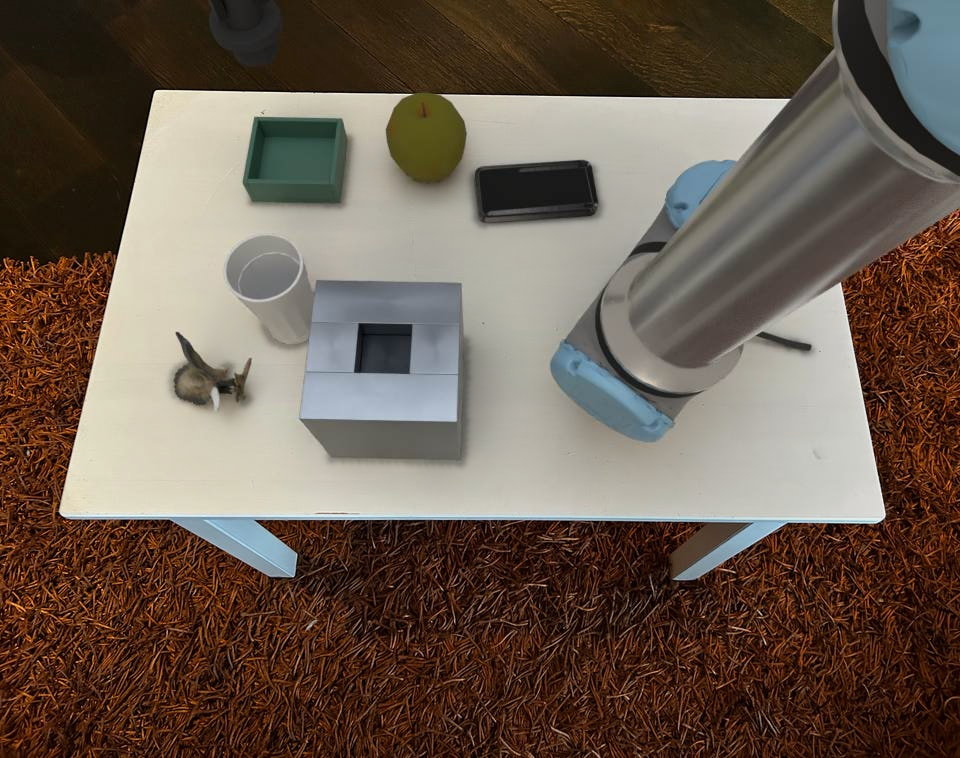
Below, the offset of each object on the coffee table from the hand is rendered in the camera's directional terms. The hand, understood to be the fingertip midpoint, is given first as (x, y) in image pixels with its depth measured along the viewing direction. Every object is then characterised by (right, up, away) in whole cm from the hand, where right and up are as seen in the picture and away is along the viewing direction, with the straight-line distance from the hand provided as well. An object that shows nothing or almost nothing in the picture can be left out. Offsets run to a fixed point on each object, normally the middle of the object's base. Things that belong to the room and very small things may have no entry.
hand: (238, 0), depth 54 cm
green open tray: (-3, -4, +30) cm, 31 cm away
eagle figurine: (-10, -32, +20) cm, 39 cm away
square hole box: (+11, -34, +19) cm, 40 cm away
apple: (+13, -4, +31) cm, 34 cm away
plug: (0, -2, +5) cm, 5 cm away
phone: (+27, -8, +29) cm, 41 cm away
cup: (-2, -24, +23) cm, 33 cm away
